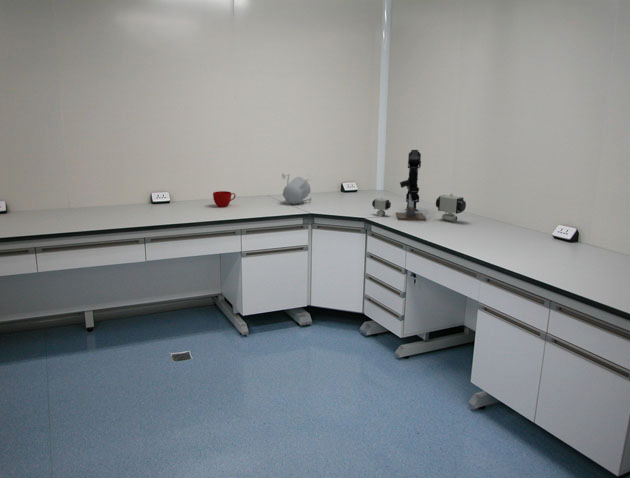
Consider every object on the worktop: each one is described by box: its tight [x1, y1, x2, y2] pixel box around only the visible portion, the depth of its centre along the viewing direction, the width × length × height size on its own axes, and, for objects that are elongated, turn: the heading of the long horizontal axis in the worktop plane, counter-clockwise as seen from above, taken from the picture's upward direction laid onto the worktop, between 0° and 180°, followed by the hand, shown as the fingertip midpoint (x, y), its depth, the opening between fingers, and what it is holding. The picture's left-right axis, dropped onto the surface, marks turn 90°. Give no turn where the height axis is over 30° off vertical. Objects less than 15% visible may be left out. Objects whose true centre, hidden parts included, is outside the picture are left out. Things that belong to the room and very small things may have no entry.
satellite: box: [281, 173, 312, 205], centre depth 404 cm, size 23×20×25 cm
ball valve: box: [435, 193, 467, 223], centre depth 352 cm, size 18×8×18 cm, turn 49°
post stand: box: [395, 206, 427, 222], centre depth 362 cm, size 18×18×7 cm
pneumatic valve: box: [371, 197, 392, 217], centre depth 367 cm, size 6×12×12 cm, turn 60°
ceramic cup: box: [212, 190, 236, 208], centre depth 393 cm, size 13×17×10 cm
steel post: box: [408, 194, 414, 208], centre depth 360 cm, size 3×3×10 cm
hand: (411, 199), depth 360 cm, fingers open, 9 cm apart
